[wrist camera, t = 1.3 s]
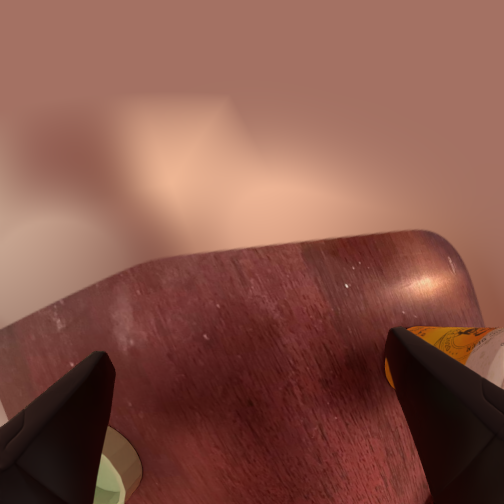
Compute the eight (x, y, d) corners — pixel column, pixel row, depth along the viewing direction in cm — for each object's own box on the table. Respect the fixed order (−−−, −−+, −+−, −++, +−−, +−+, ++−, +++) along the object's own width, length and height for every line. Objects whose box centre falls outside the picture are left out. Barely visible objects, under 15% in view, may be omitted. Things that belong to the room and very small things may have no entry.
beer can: (433, 317, 24) (559, 310, 9) (441, 378, 23) (559, 410, 8) (376, 337, 24) (492, 355, 9) (386, 401, 23) (491, 466, 8)
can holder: (158, 464, 22) (142, 486, 18) (118, 504, 21) (100, 525, 17) (89, 403, 23) (63, 415, 19) (57, 450, 22) (33, 463, 18)
